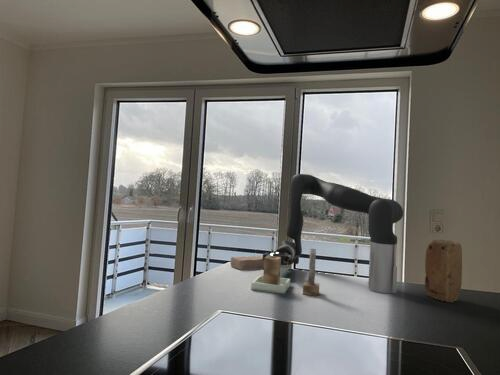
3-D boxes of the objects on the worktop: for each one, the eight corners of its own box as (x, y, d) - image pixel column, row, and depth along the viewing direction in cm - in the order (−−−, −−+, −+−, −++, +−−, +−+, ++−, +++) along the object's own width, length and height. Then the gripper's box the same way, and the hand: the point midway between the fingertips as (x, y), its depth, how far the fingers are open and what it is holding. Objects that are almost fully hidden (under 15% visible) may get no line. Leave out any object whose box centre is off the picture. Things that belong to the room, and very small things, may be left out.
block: (463, 303, 119) (465, 242, 119) (446, 304, 116) (448, 242, 117) (436, 294, 129) (438, 238, 129) (420, 295, 126) (422, 238, 127)
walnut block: (279, 285, 128) (280, 256, 128) (277, 288, 123) (278, 259, 123) (265, 283, 129) (267, 255, 129) (262, 286, 124) (264, 257, 124)
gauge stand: (318, 292, 123) (321, 248, 123) (317, 296, 118) (320, 250, 119) (304, 290, 124) (306, 247, 125) (302, 294, 120) (304, 249, 120)
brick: (259, 264, 169) (259, 254, 169) (270, 267, 162) (270, 257, 162) (229, 267, 159) (229, 256, 159) (239, 271, 152) (240, 260, 152)
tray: (290, 285, 130) (290, 278, 130) (284, 293, 119) (285, 286, 119) (259, 282, 133) (259, 275, 133) (251, 289, 122) (251, 282, 122)
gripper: (268, 244, 154) (260, 249, 138) (302, 247, 150) (296, 253, 135) (268, 261, 154) (259, 269, 138) (301, 265, 150) (296, 273, 135)
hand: (277, 261), depth 137 cm, fingers open, 8 cm apart
